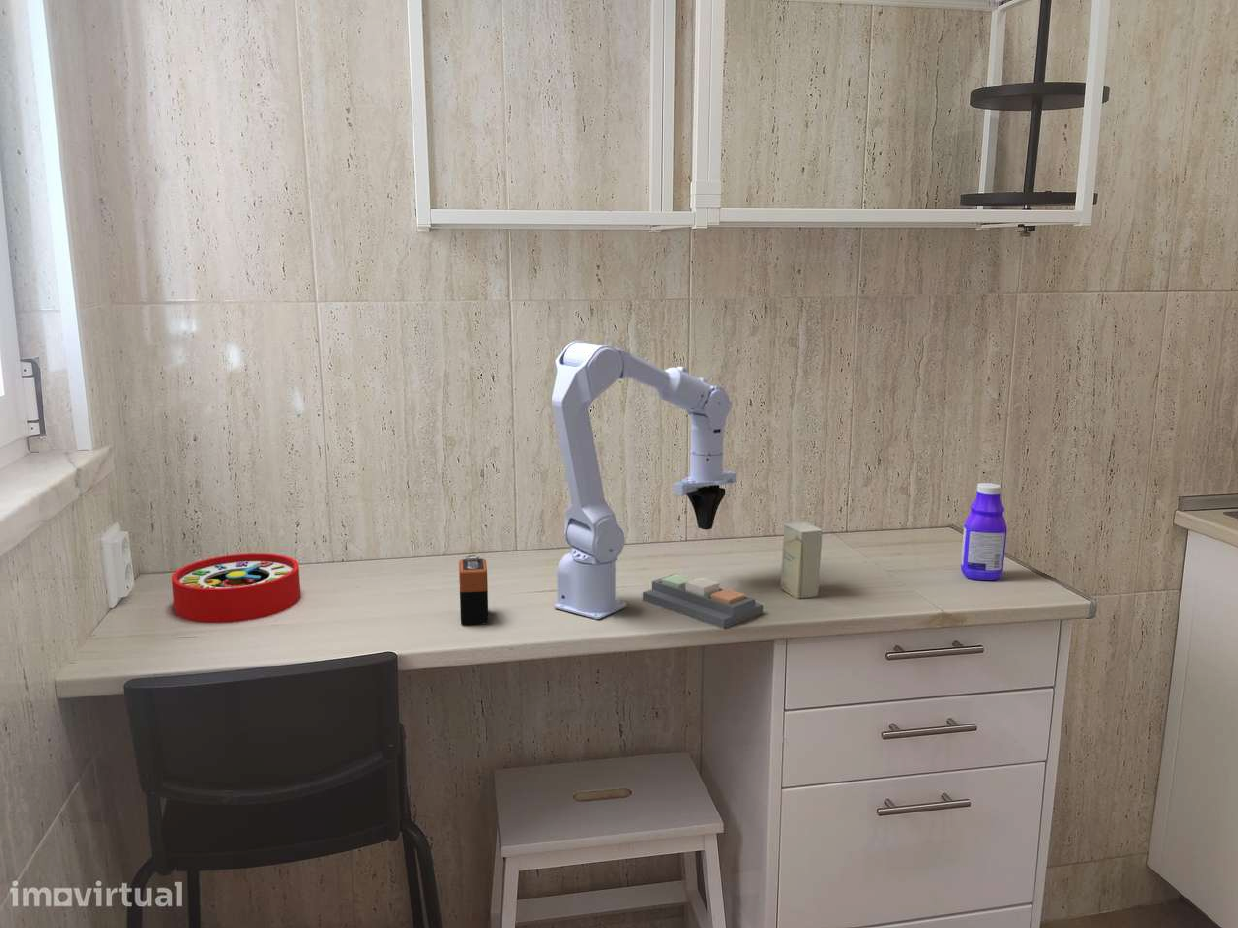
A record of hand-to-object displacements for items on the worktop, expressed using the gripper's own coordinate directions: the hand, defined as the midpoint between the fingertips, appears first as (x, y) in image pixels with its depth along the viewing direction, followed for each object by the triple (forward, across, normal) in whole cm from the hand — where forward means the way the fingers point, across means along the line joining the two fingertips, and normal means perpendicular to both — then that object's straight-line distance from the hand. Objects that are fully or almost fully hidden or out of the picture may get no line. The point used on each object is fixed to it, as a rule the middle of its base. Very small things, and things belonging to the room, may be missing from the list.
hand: (705, 528), depth 175 cm
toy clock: (+11, -64, +48) cm, 81 cm away
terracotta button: (+8, -9, -13) cm, 18 cm away
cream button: (+8, -9, -8) cm, 14 cm away
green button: (+8, -9, -2) cm, 13 cm away
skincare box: (+11, +9, -15) cm, 20 cm away
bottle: (+11, +40, -32) cm, 53 cm away
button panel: (+10, -9, -8) cm, 16 cm away
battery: (+11, -40, +14) cm, 44 cm away
